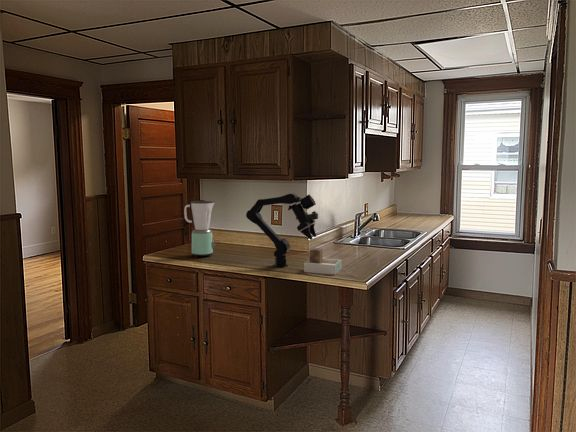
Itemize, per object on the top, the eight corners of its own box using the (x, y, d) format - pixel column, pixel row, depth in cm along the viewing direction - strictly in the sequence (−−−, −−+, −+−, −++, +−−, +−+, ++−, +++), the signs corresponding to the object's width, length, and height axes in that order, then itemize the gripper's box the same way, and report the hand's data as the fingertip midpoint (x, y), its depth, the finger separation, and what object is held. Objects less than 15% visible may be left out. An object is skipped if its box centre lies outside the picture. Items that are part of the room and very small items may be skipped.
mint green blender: (215, 253, 312) (214, 199, 308) (216, 257, 299) (215, 201, 295) (185, 254, 309) (184, 199, 305) (185, 258, 296) (183, 201, 292)
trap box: (304, 271, 262) (304, 262, 262) (311, 266, 276) (311, 257, 276) (335, 274, 257) (335, 265, 256) (341, 268, 271) (341, 259, 270)
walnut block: (309, 264, 268) (309, 249, 267) (312, 261, 274) (312, 247, 273) (319, 264, 266) (319, 250, 265) (322, 262, 272) (322, 248, 271)
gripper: (308, 208, 259) (322, 233, 258) (316, 205, 277) (329, 229, 276) (290, 218, 262) (304, 243, 262) (299, 214, 280) (312, 237, 279)
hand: (313, 238), depth 270 cm, fingers open, 9 cm apart
